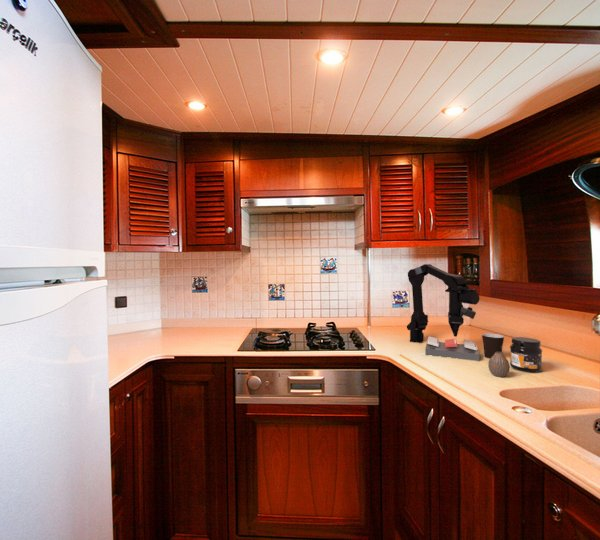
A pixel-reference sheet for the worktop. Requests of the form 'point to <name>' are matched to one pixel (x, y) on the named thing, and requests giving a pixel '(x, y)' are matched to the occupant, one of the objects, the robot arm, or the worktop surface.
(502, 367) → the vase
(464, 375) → the worktop surface
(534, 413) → the worktop surface
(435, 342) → the plate
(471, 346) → the rocker right
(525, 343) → the supplement container
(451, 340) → the rocker red
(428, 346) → the rocker switch panel
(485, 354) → the coffee mug
